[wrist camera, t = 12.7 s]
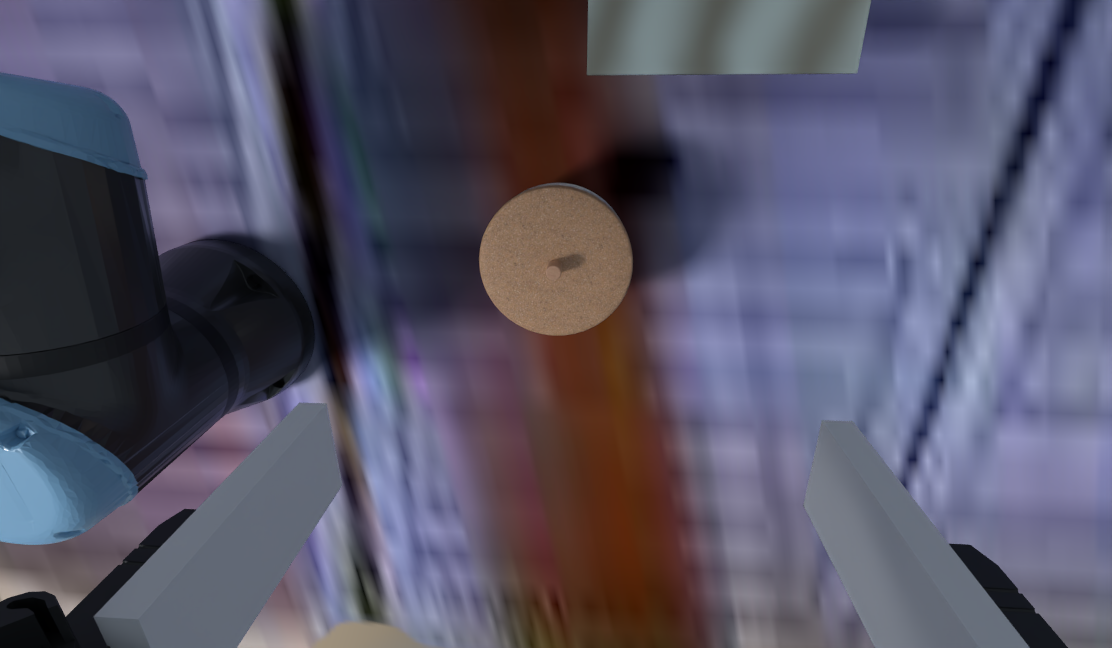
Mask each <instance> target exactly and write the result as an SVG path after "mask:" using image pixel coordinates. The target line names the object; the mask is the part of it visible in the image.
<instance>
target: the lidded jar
mask: <svg viewBox="0 0 1112 648" xmlns="http://www.w3.org/2000/svg"><path fill="white" fill-rule="evenodd" d="M479 265H480V273H481V277H482V281H483V284H484V287H485V289H486V291H487V294H488V295H489V297H490V298H491V300H492V302H493V303H494V304H495V306H496V307H497V308H498V309H499V310H500V312H502V313H503V314H504V315H505V316H506V317H507V318H508V319H510V320H511V321H513V322H514V323H516V324H517V325H519V326H521V327H523V328H525V329H527V330H530V331H533V332H536V333H540V334H546V335H569V334H575V333H579V332H582V331H585V330H588V329H590V328H592V327H594V326H596V325H598V324H599V323H601V322H602V321H604V320H605V319H606V318H607V317H608V316H609V315H611V314H612V313H613V312H614V311H615V309H616V308H617V307H618V306H619V304H620V303H621V301H622V300H623V298H624V296H625V294H626V292H627V290H628V287H629V284H630V281H631V276H632V271H633V255H632V248H631V244H630V240H629V237H628V234H627V232H626V230H625V228H624V226H623V224H622V222H621V221H620V219H619V217H618V215H617V214H616V213H615V211H614V210H613V208H612V207H611V206H610V205H609V204H608V203H607V202H606V201H605V200H604V199H602V198H601V197H599V196H598V195H597V194H595V193H594V192H592V191H590V190H588V189H586V188H584V187H581V186H578V185H574V184H568V183H548V184H542V185H538V186H535V187H532V188H529V189H527V190H525V191H524V192H522V193H520V194H518V195H517V196H515V197H513V198H512V199H511V200H509V201H508V202H507V203H506V204H504V205H503V206H502V207H501V208H500V210H499V211H498V212H497V213H496V214H495V215H494V217H493V218H492V220H491V221H490V223H489V224H488V226H487V228H486V230H485V233H484V235H483V238H482V242H481V246H480V254H479Z"/></svg>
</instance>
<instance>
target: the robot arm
mask: <svg viewBox="0 0 1112 648" xmlns="http://www.w3.org/2000/svg"><path fill="white" fill-rule="evenodd" d="M146 179H148V177H147V173H146V172H145V170H144V169H142V168H141V165H140V161H139V157H138V153H137V149H136V145H135V141H134V137H133V133H132V129H131V125H130V122H129V119H128V117H127V115H126V113H125V112H124V111H123V109H122V108H121V107H120V106H119V105H118V104H117V103H116V102H115V101H114V100H112V99H111V98H110V97H108V96H107V95H105V94H103V93H101V92H99V91H96V90H94V89H90V88H86V87H81V86H76V85H71V84H65V83H59V82H54V81H48V80H42V79H36V78H30V77H24V76H18V75H13V74H7V73H1V72H0V541H2V542H8V543H16V544H26V545H39V544H50V543H56V542H61V541H65V540H68V539H71V538H73V537H76V536H78V535H80V534H82V533H84V532H86V531H87V530H89V529H90V528H92V527H93V526H94V525H96V524H97V523H98V522H99V521H101V520H102V519H103V518H105V517H106V516H107V515H109V514H110V513H111V512H113V511H114V510H115V509H117V508H118V507H120V506H123V505H125V504H126V503H128V502H129V501H131V500H132V499H133V498H134V497H135V496H136V494H137V493H138V492H140V491H141V490H142V489H143V488H144V487H145V486H146V485H147V484H148V483H150V482H151V481H152V480H153V479H154V478H155V477H156V476H157V475H158V474H160V473H161V472H162V471H163V470H164V469H165V468H166V467H167V466H168V465H170V464H171V463H172V462H173V461H174V460H175V459H176V458H177V457H178V456H180V455H181V454H182V453H183V452H184V451H185V450H186V449H187V448H188V447H189V446H191V445H192V444H193V443H194V442H195V441H196V440H197V439H198V438H199V437H201V436H202V435H203V434H204V433H205V432H206V431H207V430H208V429H209V428H211V427H212V426H213V425H214V424H215V423H216V422H217V421H218V420H220V419H221V418H222V417H223V416H224V415H226V414H229V413H231V412H234V411H237V410H240V409H243V408H246V407H249V406H251V405H254V404H257V403H260V402H263V401H265V400H268V399H270V398H272V397H274V396H276V395H277V394H279V393H281V392H282V391H283V390H285V389H286V388H287V387H288V386H289V385H290V384H291V383H292V382H293V381H294V380H296V379H297V378H298V377H299V376H300V375H301V373H302V372H303V371H304V370H305V368H306V366H307V365H308V363H309V361H310V358H311V355H312V352H313V347H314V326H313V321H312V317H311V314H310V311H309V308H308V306H307V303H306V301H305V299H304V297H303V296H302V294H301V292H300V291H299V289H298V288H297V286H296V285H295V284H294V282H293V281H292V280H291V279H290V278H289V276H288V275H287V274H286V273H285V272H284V271H283V270H282V269H281V268H279V267H278V266H277V265H276V264H275V263H273V262H272V261H271V260H269V259H268V258H266V257H265V256H263V255H261V254H260V253H258V252H256V251H254V250H252V249H250V248H247V247H245V246H242V245H239V244H236V243H232V242H227V241H221V240H201V241H195V242H191V243H188V244H185V245H182V246H180V247H177V248H174V249H172V250H169V251H167V252H165V253H163V254H161V255H160V256H158V250H157V245H156V239H155V234H154V228H153V223H152V217H151V212H150V206H149V201H148V195H147V190H146V184H145V180H146ZM341 486H342V481H341V476H340V470H339V465H338V460H337V455H336V450H335V445H334V439H333V434H332V429H331V424H330V419H329V414H328V408H327V404H322V403H299V404H298V405H297V406H296V407H295V408H294V409H293V410H292V411H291V412H290V413H289V414H288V415H287V416H286V417H285V418H284V419H283V420H282V421H281V422H280V423H279V424H278V425H277V427H276V428H275V429H274V430H273V431H272V432H271V433H270V434H269V435H268V436H267V437H266V438H265V439H264V440H263V441H262V442H261V443H260V444H259V445H258V446H257V447H256V448H255V449H254V450H253V451H252V452H251V454H250V455H249V456H248V457H247V458H246V459H245V460H244V461H243V462H242V463H241V464H240V465H239V466H238V467H237V468H236V469H235V470H234V471H233V472H232V473H231V474H230V475H229V476H228V477H227V478H226V479H225V481H224V482H223V483H222V484H221V485H220V486H219V487H218V488H217V489H216V490H215V491H214V492H213V493H212V494H211V495H210V496H209V497H208V498H207V499H206V500H205V501H204V502H203V503H202V504H201V505H200V506H199V508H198V509H197V510H195V509H184V510H182V511H181V512H179V513H177V514H176V515H174V516H173V517H171V518H170V519H168V520H166V521H165V522H163V523H162V524H160V525H159V526H158V527H157V528H155V529H154V530H153V531H152V532H151V533H150V534H149V535H148V536H147V537H146V538H145V539H144V540H143V541H142V542H141V543H140V544H139V548H138V549H134V550H133V551H132V552H131V553H130V554H129V555H128V556H127V557H126V558H125V559H124V560H123V563H122V565H118V566H117V567H116V568H115V569H114V570H113V571H112V572H111V573H110V574H109V575H108V576H107V577H106V578H105V579H104V580H103V581H102V582H101V583H100V584H99V585H98V586H97V587H96V588H95V589H94V590H93V591H92V592H91V593H89V594H88V595H87V596H86V597H85V598H84V599H83V600H82V601H81V602H80V603H79V604H78V605H77V606H76V607H75V608H74V609H73V610H72V611H71V612H70V613H69V614H68V615H67V616H66V617H65V615H64V613H63V611H62V609H61V607H60V605H59V603H58V601H57V599H56V597H55V596H54V595H52V594H50V593H48V592H45V591H43V592H28V593H24V594H20V595H17V596H13V597H10V598H7V599H5V600H3V601H1V602H0V648H237V646H238V645H239V643H240V642H241V640H242V639H243V637H244V636H245V634H246V633H247V631H248V630H249V628H250V626H251V625H252V623H253V622H254V620H255V619H256V617H257V616H258V614H259V613H260V611H261V610H262V608H263V606H264V605H265V603H266V602H267V600H268V599H269V597H270V596H271V594H272V593H273V591H274V590H275V588H276V586H277V585H278V583H279V582H280V580H281V579H282V577H283V576H284V574H285V573H286V571H287V570H288V568H289V566H290V565H291V563H292V562H293V560H294V559H295V557H296V556H297V554H298V553H299V551H300V550H301V548H302V546H303V545H304V543H305V542H306V540H307V539H308V537H309V536H310V534H311V533H312V531H313V530H314V528H315V526H316V525H317V523H318V522H319V520H320V519H321V517H322V516H323V514H324V513H325V511H326V510H327V508H328V506H329V505H330V503H331V502H332V500H333V499H334V497H335V496H336V494H337V493H338V491H339V490H340V488H341ZM803 506H804V508H805V509H806V511H807V513H808V515H809V517H810V519H811V521H812V523H813V525H814V527H815V529H816V531H817V533H818V535H819V537H820V539H821V541H822V543H823V545H824V547H825V549H826V551H827V553H828V555H829V557H830V559H831V561H832V563H833V565H834V567H835V569H836V571H837V573H838V575H839V577H840V579H841V581H842V583H843V585H844V587H845V589H846V591H847V593H848V595H849V597H850V599H851V601H852V603H853V605H854V607H855V609H856V611H857V613H858V615H859V617H860V619H861V621H862V623H863V625H864V627H865V629H866V631H867V633H868V635H869V637H870V639H871V641H872V643H873V645H874V647H875V648H1068V647H1067V646H1066V645H1065V644H1064V643H1063V641H1062V640H1061V639H1060V638H1059V637H1058V635H1057V634H1056V633H1055V632H1054V631H1053V630H1052V628H1051V627H1050V626H1049V625H1048V624H1047V623H1046V621H1045V620H1044V619H1043V618H1042V617H1041V616H1040V614H1036V613H1035V610H1034V609H1035V608H1034V607H1033V606H1032V605H1031V604H1030V603H1029V601H1028V600H1027V599H1026V598H1025V597H1024V596H1023V594H1019V593H1018V589H1017V587H1016V586H1015V585H1014V584H1013V583H1012V581H1011V580H1010V579H1009V578H1008V577H1007V576H1006V574H1005V573H1004V572H1003V571H1002V570H1001V569H1000V567H999V566H998V565H997V564H995V563H994V562H993V561H991V560H990V559H989V558H987V557H986V556H984V555H983V554H982V553H980V552H979V551H978V550H976V549H975V548H974V547H972V546H971V545H965V544H948V543H947V541H946V540H945V539H944V537H943V536H942V535H941V534H940V532H939V531H938V530H937V528H936V527H935V526H934V525H933V523H932V522H931V521H930V520H929V518H928V517H927V516H926V514H925V513H924V512H923V511H922V509H921V508H920V507H919V505H918V504H917V503H916V502H915V500H914V499H913V498H912V497H911V495H910V494H909V493H908V491H907V490H906V489H905V488H904V486H903V485H902V484H901V482H900V481H899V480H898V479H897V477H896V476H895V475H894V474H893V472H892V471H891V470H890V468H889V467H888V466H887V465H886V463H885V462H884V461H883V459H882V458H881V457H880V456H879V454H878V453H877V452H876V451H875V449H874V448H873V447H872V445H871V444H870V443H869V442H868V440H867V439H866V438H865V436H864V435H863V434H862V433H861V431H860V430H859V429H858V428H857V426H856V425H855V424H854V422H853V421H824V420H822V423H821V427H820V432H819V436H818V441H817V445H816V450H815V455H814V459H813V464H812V468H811V473H810V477H809V482H808V487H807V491H806V496H805V500H804V505H803Z"/></svg>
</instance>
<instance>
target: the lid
mask: <svg viewBox="0 0 1112 648" xmlns="http://www.w3.org/2000/svg"><path fill="white" fill-rule="evenodd" d="M870 4H871V0H588V43H587V75H738V74H853V73H857V71H858V66H859V61H860V56H861V51H862V45H863V40H864V35H865V30H866V25H867V19H868V14H869V9H870Z"/></svg>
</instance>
